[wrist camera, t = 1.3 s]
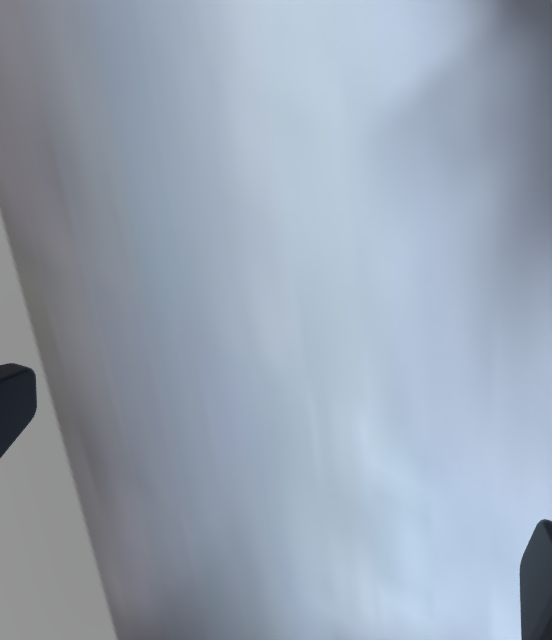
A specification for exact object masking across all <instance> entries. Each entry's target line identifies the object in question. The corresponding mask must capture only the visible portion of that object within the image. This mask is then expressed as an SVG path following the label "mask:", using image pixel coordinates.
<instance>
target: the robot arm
mask: <svg viewBox="0 0 552 640" xmlns="http://www.w3.org/2000/svg"><path fill="white" fill-rule="evenodd" d="M36 396H37V395H36V375H35V373H34V371H33V370H32V369H31V368H28V367H25V366H21V365H18V364H14V363H10V364H5V365H0V458H1V457H2V456H3V454H4V453H5V452H6V451H7V449H8V448H9V447H10V446H11V444H12V443H13V442H14V441H15V440H16V438H17V437H18V436H19V435H20V433H21V432H22V431H23V430H24V429H25V427H26V426H27V425H28V423H29V422H30V421H31V420H32V418H33V417H34V415H35V412H36V408H37V397H36ZM520 602H521V637H522V640H552V521H550V520H547V519H544V520H541V521H540V522H539V523H538V524H537V526H536V528H535V530H534V532H533V534H532V536H531V539H530V541H529V543H528V545H527V548H526V550H525V552H524V554H523V557H522V560H521V564H520Z"/></svg>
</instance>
